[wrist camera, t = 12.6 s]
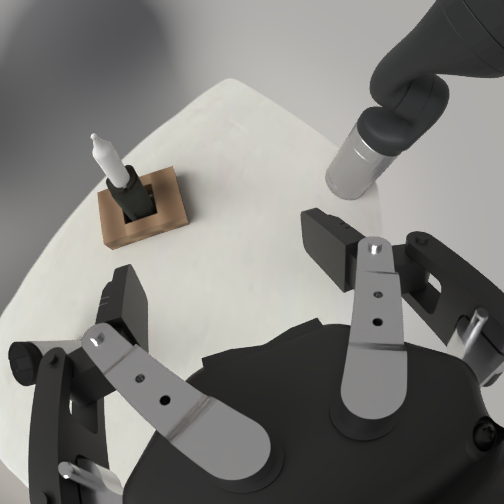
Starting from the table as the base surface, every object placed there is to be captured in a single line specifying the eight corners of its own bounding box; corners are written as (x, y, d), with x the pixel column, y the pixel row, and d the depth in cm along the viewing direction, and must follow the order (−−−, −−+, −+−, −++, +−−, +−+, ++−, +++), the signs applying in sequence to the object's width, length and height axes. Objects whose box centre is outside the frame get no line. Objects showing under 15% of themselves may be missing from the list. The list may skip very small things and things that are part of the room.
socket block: (175, 176, 53) (172, 166, 49) (188, 224, 51) (186, 216, 47) (104, 201, 50) (97, 192, 47) (112, 249, 48) (104, 244, 44)
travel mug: (101, 367, 42) (39, 384, 23) (75, 373, 41) (11, 388, 22) (91, 336, 44) (26, 337, 24) (66, 343, 42) (-1, 344, 23)
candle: (149, 196, 52) (105, 112, 27) (160, 215, 51) (116, 135, 27) (127, 209, 50) (71, 133, 26) (137, 229, 50) (79, 158, 26)
